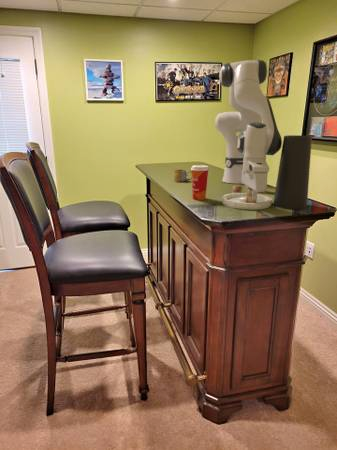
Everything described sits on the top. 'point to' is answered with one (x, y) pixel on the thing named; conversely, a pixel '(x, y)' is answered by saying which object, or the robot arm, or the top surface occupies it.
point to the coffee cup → (199, 181)
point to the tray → (240, 201)
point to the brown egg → (236, 189)
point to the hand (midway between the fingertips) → (251, 197)
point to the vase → (293, 173)
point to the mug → (181, 176)
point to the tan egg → (248, 197)
